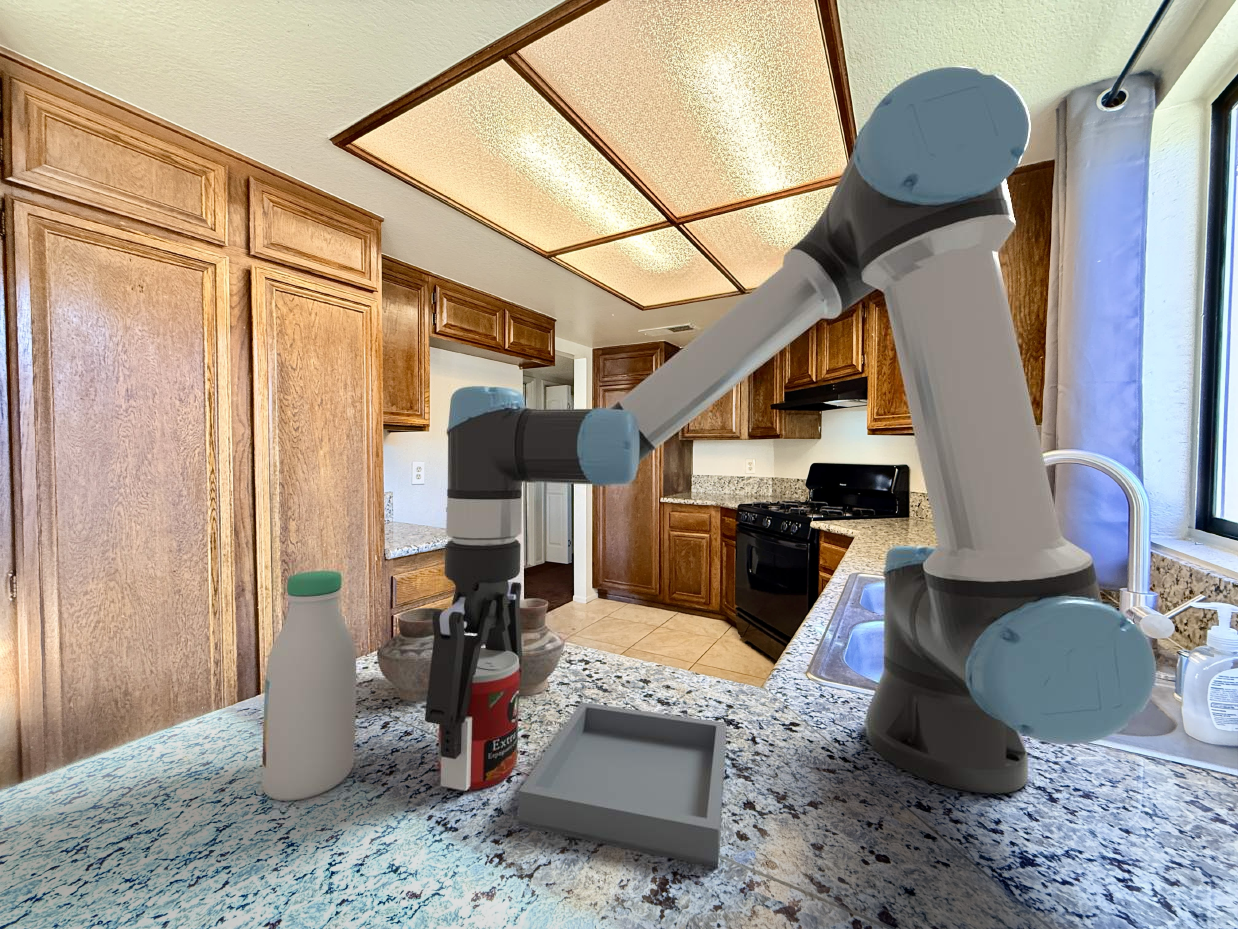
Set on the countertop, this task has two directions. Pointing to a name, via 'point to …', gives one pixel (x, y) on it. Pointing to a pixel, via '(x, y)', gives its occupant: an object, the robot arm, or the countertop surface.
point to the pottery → (413, 646)
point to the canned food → (493, 718)
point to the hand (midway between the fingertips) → (478, 760)
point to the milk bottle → (310, 693)
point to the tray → (632, 783)
